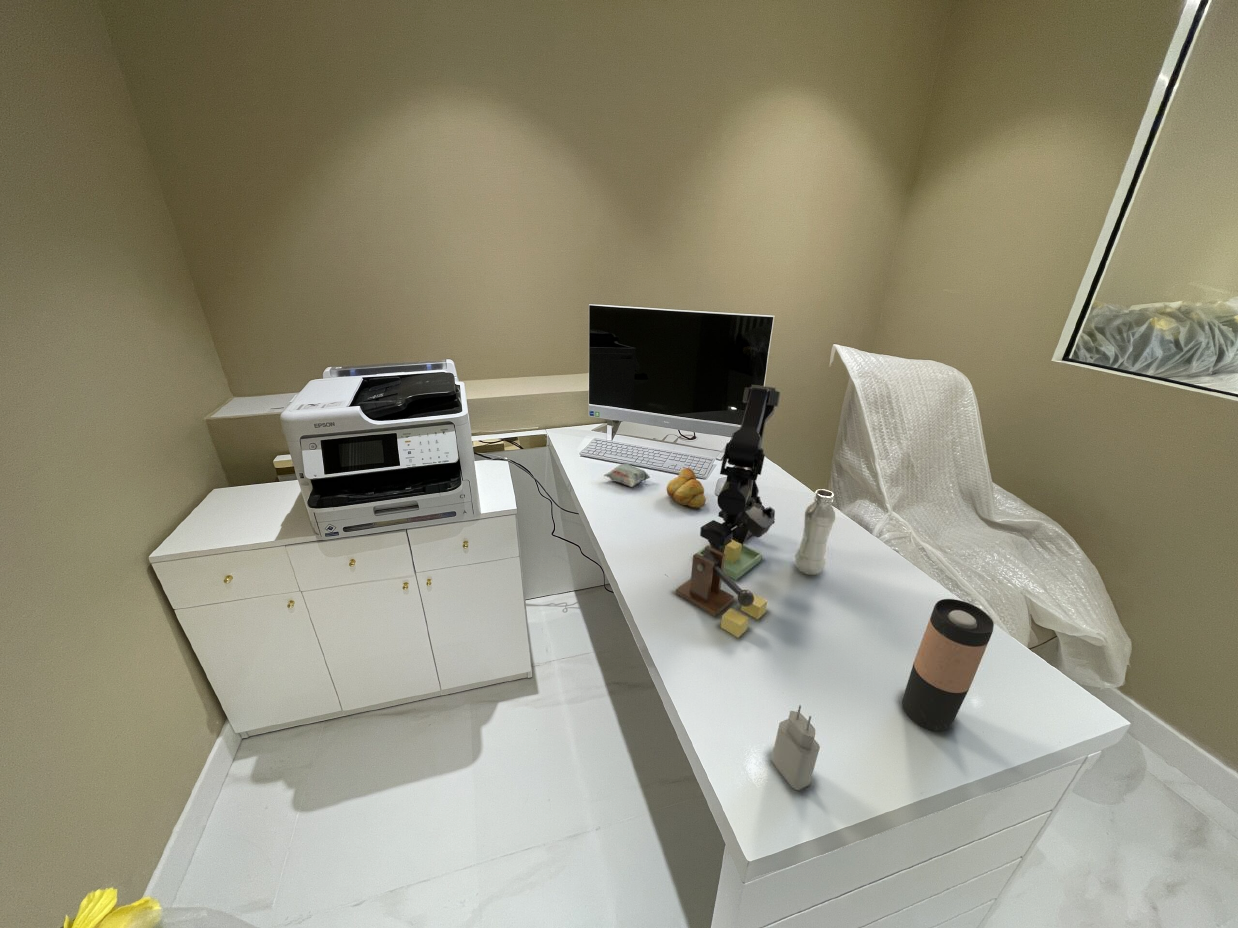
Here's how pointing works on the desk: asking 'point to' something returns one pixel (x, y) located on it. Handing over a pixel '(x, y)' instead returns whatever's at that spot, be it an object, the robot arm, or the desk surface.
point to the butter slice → (732, 551)
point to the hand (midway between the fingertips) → (729, 552)
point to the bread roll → (686, 489)
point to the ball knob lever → (731, 583)
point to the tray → (740, 562)
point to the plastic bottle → (816, 533)
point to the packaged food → (627, 475)
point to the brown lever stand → (706, 584)
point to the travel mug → (946, 663)
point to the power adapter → (796, 750)
